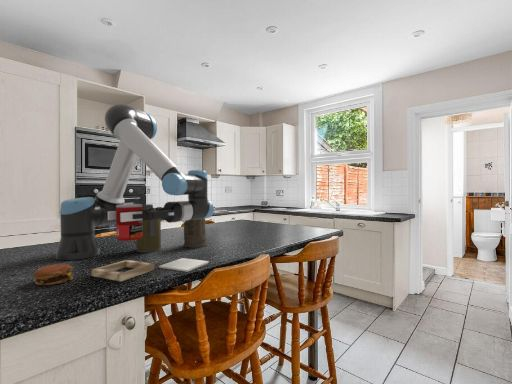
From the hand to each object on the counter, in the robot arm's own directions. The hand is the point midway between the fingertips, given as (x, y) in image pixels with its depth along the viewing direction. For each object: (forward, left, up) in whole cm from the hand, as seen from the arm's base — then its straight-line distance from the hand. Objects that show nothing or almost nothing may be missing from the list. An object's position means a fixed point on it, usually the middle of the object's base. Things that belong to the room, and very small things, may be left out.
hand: (114, 216), depth 88 cm
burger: (-12, -11, -19) cm, 25 cm away
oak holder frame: (0, +3, -18) cm, 19 cm away
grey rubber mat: (+12, +18, -18) cm, 29 cm away
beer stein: (-7, +50, -19) cm, 54 cm away
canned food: (+1, +5, -8) cm, 9 cm away
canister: (-19, +32, -19) cm, 42 cm away
